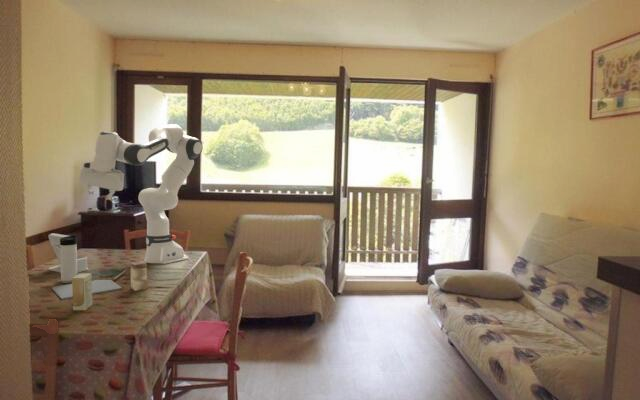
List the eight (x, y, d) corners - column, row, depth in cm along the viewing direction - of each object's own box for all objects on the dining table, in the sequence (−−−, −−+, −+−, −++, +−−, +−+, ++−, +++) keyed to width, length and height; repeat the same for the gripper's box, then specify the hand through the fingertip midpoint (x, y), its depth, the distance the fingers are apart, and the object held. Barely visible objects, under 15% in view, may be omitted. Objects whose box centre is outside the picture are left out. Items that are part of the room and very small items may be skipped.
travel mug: (81, 280, 186) (80, 236, 184) (68, 284, 180) (67, 238, 178) (71, 278, 188) (69, 234, 187) (57, 282, 182) (56, 237, 180)
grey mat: (108, 279, 189) (108, 277, 189) (121, 289, 176) (121, 287, 176) (51, 288, 174) (51, 286, 174) (61, 299, 161) (61, 298, 161)
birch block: (142, 285, 181) (142, 260, 180) (147, 288, 177) (146, 263, 176) (130, 287, 178) (130, 262, 177) (135, 290, 174) (134, 265, 173)
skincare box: (80, 304, 156) (80, 272, 155) (92, 304, 157) (92, 272, 155) (72, 310, 150) (71, 277, 149) (84, 310, 150) (83, 277, 149)
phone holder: (90, 269, 203) (89, 233, 201) (70, 274, 194) (68, 236, 192) (67, 265, 211) (66, 230, 209) (46, 269, 201) (45, 232, 200)
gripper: (128, 171, 190) (124, 201, 191) (89, 163, 193) (85, 192, 194) (119, 171, 183) (115, 201, 185) (79, 162, 187) (74, 193, 188)
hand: (99, 197), depth 189 cm, fingers open, 8 cm apart
